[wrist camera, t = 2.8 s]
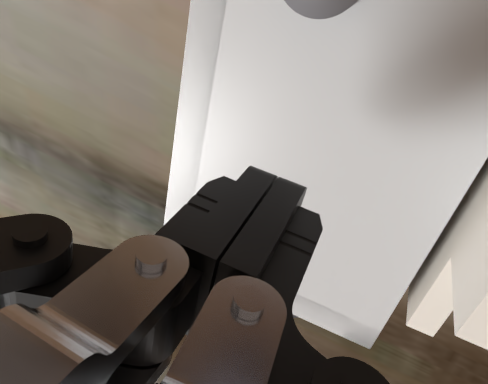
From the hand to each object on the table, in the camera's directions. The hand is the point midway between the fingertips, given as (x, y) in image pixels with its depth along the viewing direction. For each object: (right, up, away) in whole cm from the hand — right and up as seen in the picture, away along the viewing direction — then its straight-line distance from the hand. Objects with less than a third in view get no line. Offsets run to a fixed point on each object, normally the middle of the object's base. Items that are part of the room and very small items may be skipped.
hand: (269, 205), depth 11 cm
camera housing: (+5, +6, +12) cm, 14 cm away
